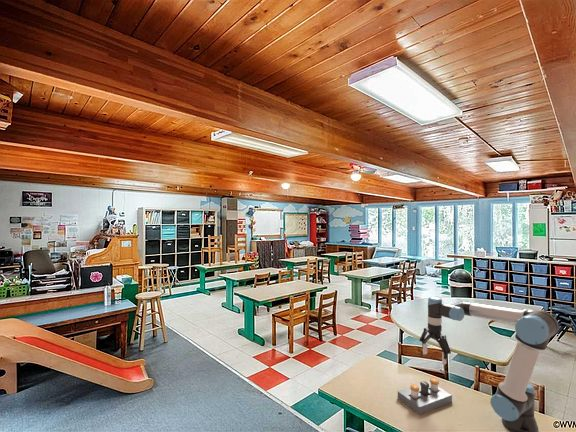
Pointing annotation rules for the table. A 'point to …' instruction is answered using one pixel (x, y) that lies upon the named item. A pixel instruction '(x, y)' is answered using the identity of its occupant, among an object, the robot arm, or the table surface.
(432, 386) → the knob far
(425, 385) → the dial
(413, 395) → the knob near
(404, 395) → the panel
